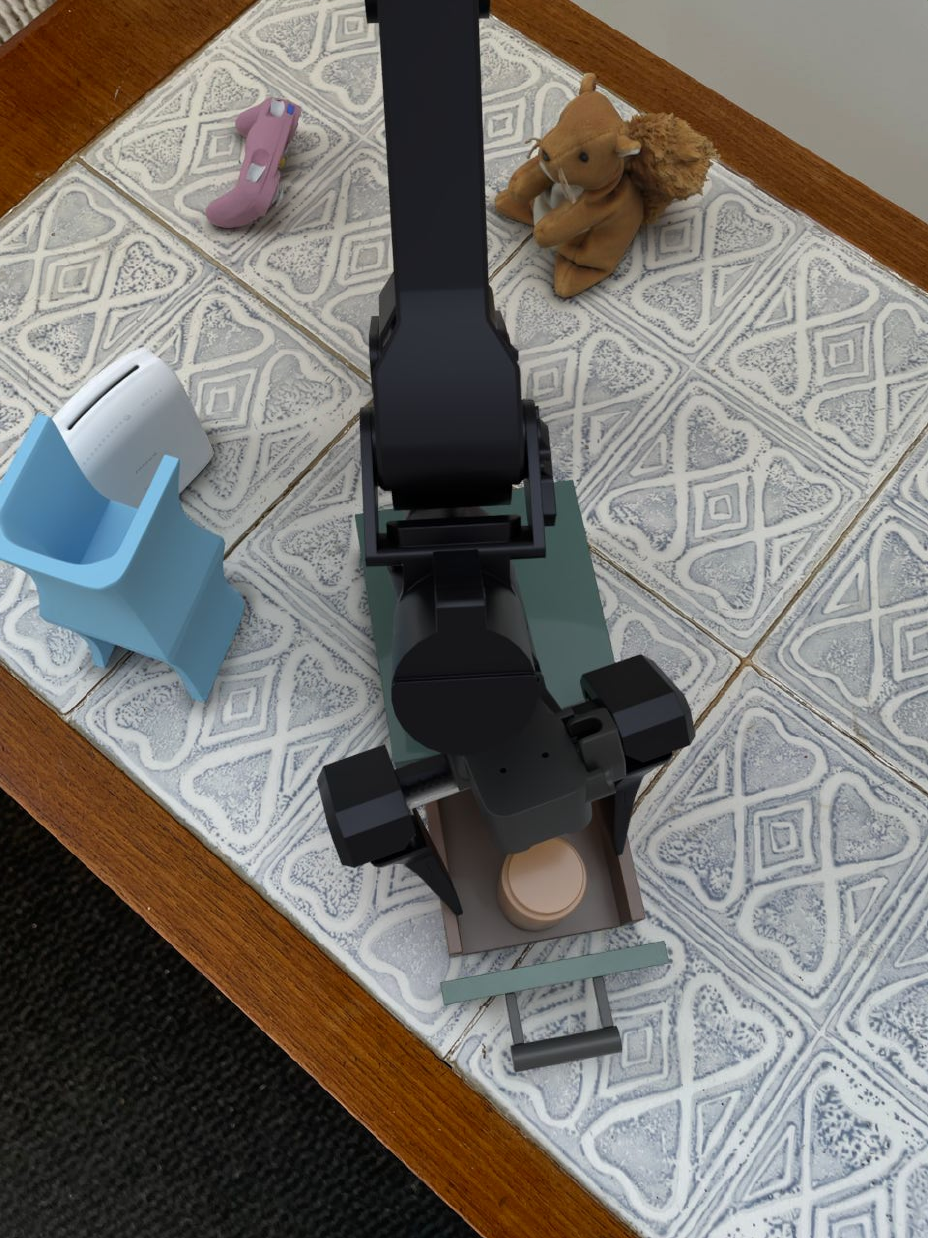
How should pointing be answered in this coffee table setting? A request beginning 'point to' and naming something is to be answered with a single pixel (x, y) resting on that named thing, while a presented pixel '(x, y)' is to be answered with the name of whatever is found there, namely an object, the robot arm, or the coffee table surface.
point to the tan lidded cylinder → (541, 884)
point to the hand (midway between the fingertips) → (537, 880)
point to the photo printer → (133, 427)
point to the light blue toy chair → (118, 562)
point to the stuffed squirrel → (602, 183)
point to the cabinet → (552, 601)
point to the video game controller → (258, 163)
